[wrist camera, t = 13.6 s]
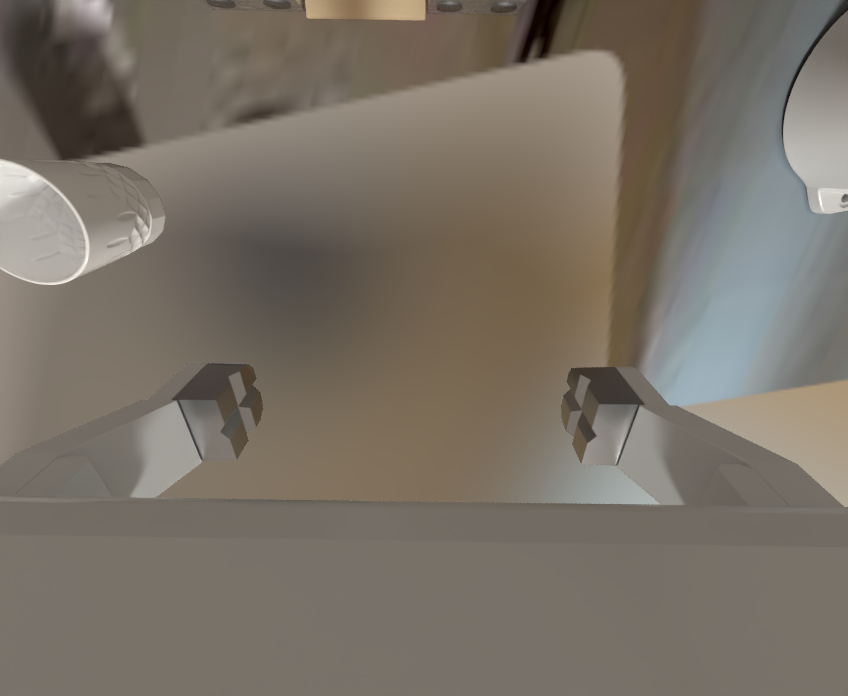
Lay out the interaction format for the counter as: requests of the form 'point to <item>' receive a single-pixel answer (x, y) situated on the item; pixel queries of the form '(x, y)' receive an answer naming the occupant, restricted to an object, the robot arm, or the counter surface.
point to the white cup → (72, 217)
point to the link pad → (366, 9)
